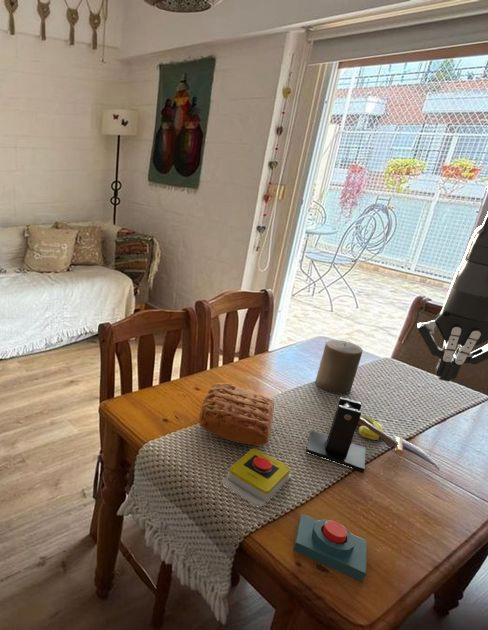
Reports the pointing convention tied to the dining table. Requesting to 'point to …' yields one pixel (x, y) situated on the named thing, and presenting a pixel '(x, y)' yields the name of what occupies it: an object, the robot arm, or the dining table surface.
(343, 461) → the black lever stand
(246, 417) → the inscribed clay slab
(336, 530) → the button
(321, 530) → the button block
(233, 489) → the emergency button
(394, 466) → the dining table surface
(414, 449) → the knife
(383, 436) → the lever
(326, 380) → the pillar candle
